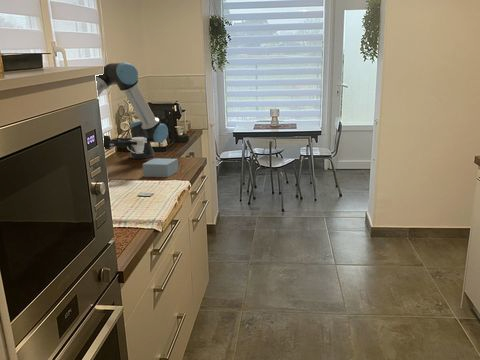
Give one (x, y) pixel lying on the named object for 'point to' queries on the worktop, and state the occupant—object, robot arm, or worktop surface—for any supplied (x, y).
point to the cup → (138, 148)
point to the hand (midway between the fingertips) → (145, 141)
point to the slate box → (160, 167)
